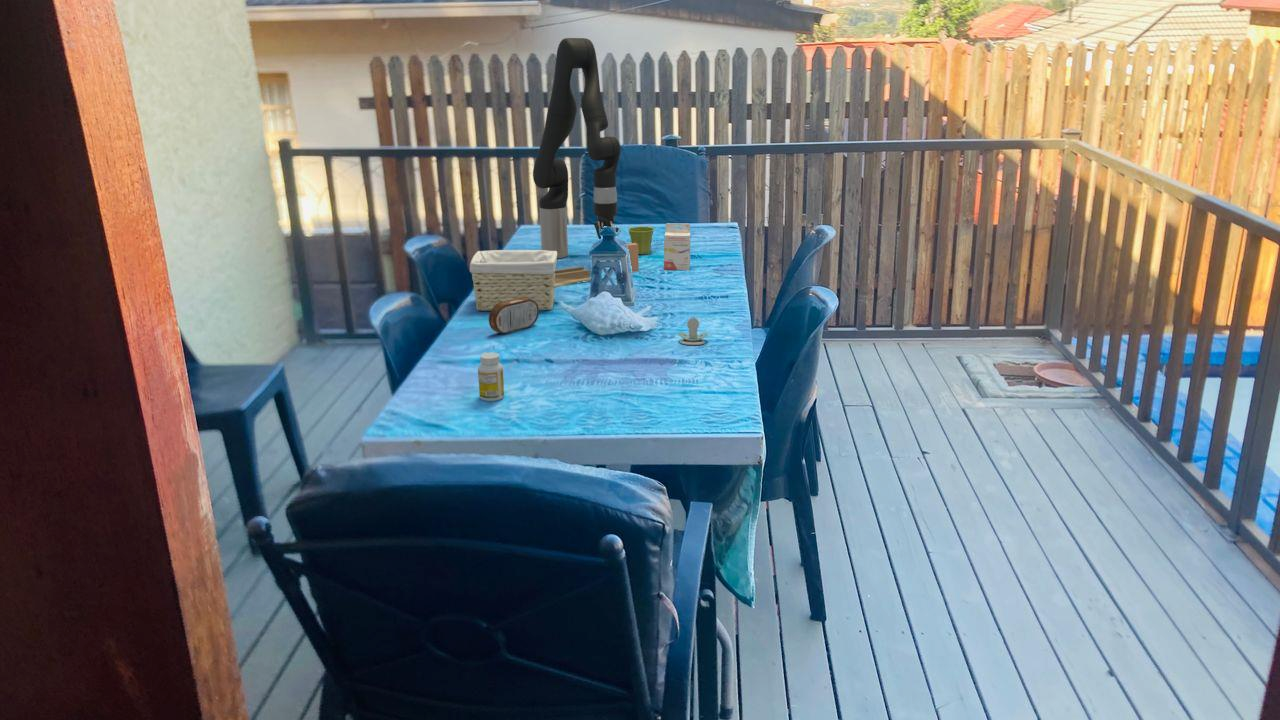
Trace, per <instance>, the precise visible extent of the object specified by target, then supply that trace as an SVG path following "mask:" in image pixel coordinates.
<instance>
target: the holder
mask: <svg viewBox="0 0 1280 720" xmlns="http://www.w3.org/2000/svg"><path fill="white" fill-rule="evenodd" d="M590 278H591V269H588V268H587V269H584V266H575V267H574V266H573V267H566V268H561V269H555V280H554V281H555V284H554V288H558V287H563V286H564V285H565V286H570V285H569V284H572V283H577V282H583V281H588V280H590ZM572 285H573V284H572ZM565 286H564V287H565Z"/></svg>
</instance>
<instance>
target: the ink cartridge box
mask: <svg viewBox="0 0 1280 720" xmlns="http://www.w3.org/2000/svg"><path fill="white" fill-rule="evenodd" d="M676 227H680V228H676ZM691 234H692V233H691V224H690V223H677V222H676V223H675V222H674V223H672V222H671V223H670V222H667V223H666V224H665V233H664V239H663V240H664V241H663V242H664V243H663V270H664V271H665V270H668V271H690V266H691V236H692V235H691Z"/></svg>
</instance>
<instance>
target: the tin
mask: <svg viewBox="0 0 1280 720" xmlns="http://www.w3.org/2000/svg"><path fill="white" fill-rule="evenodd" d="M539 311H540V310H539V308H538V304H537V303H536V302H535V301H534V300H532V299H530V298H528V297H520V298H516V299H512V300H507V301H502V302H499V303H497V304H496V305H495V306H494V307H493V308H492V310H490V312H489V315H488V324H489V326H490V329H491V330H493V331H494V332H496V333H499V334H503V335H507V334H510V333H514V332H518V331H522V330H526V329H530V328H531V327H533V326H534V325H535V323H536V322H537V320H538V319H539Z"/></svg>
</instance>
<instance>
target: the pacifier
mask: <svg viewBox="0 0 1280 720" xmlns="http://www.w3.org/2000/svg"><path fill="white" fill-rule="evenodd" d="M686 325H687V328H688V333H686V332H682V331H678V336H679V337H680V338H682V339H681V340H680V341H679V343H680V344H682V345H687V346H700V345H704V344H705V343H706V341H705V340H704V339H705V337H707V336H708V332H703V333H699V334H698V330H699V327H700V322H699V319H697V318H696V317H691V318H688V320H687V323H686Z"/></svg>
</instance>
